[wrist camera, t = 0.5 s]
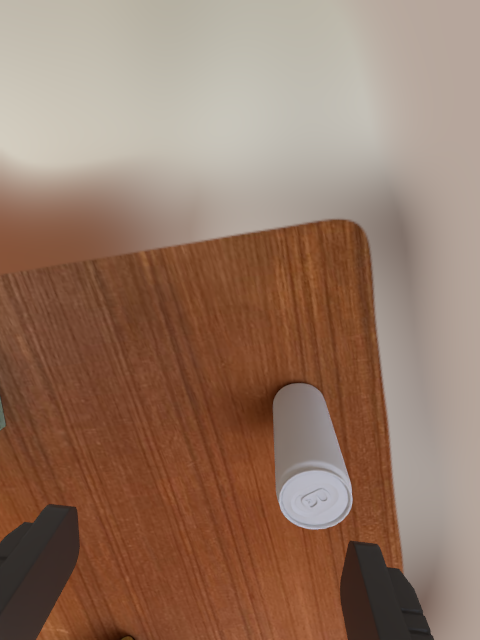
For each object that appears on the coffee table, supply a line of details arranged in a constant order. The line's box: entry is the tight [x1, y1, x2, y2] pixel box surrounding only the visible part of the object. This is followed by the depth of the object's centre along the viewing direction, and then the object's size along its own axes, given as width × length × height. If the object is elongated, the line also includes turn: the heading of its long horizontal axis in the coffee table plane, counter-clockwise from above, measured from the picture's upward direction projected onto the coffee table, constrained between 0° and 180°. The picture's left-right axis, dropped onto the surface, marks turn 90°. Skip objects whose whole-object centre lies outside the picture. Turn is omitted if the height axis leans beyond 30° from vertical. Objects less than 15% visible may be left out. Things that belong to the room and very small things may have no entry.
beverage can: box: [273, 383, 352, 530], centre depth 28 cm, size 5×5×12 cm
